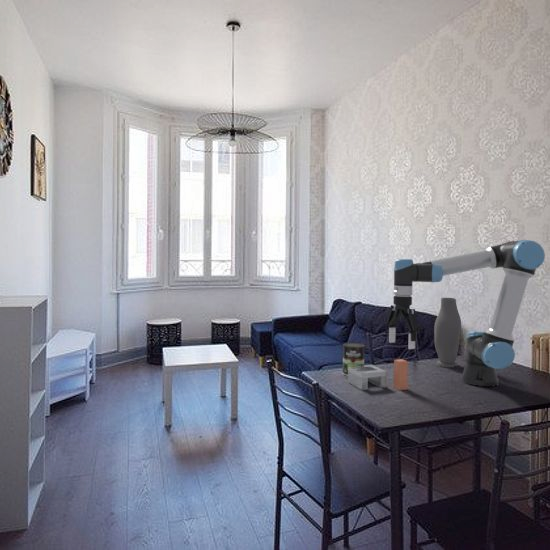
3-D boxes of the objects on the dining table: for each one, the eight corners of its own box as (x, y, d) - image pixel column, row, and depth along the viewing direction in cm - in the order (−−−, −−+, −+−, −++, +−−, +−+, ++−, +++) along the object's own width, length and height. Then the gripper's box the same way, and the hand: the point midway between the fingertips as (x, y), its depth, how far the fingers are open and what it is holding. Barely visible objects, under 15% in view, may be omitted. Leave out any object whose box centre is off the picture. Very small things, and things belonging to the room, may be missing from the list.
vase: (442, 360, 238) (443, 296, 236) (465, 365, 228) (467, 298, 226) (429, 365, 229) (430, 298, 227) (452, 370, 219) (454, 300, 217)
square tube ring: (371, 379, 201) (371, 364, 200) (386, 387, 189) (386, 371, 189) (347, 382, 197) (348, 366, 196) (361, 389, 185) (362, 373, 185)
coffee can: (363, 377, 204) (364, 347, 203) (341, 376, 206) (342, 346, 205) (364, 372, 214) (365, 343, 213) (343, 370, 216) (343, 342, 215)
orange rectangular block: (401, 386, 191) (402, 359, 190) (407, 389, 187) (407, 361, 186) (393, 387, 189) (394, 359, 189) (399, 390, 186) (399, 362, 185)
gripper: (378, 293, 196) (377, 340, 198) (414, 298, 173) (412, 352, 174) (392, 292, 199) (391, 339, 200) (429, 298, 176) (428, 351, 177)
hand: (401, 345), depth 187 cm, fingers open, 13 cm apart
